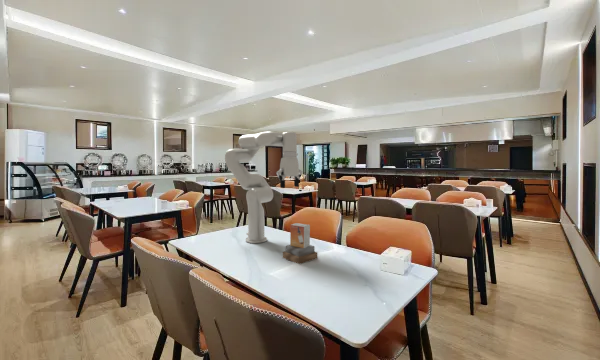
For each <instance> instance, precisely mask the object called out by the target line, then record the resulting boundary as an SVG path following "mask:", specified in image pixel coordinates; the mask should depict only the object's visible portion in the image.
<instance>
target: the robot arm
mask: <svg viewBox="0 0 600 360" xmlns="http://www.w3.org/2000/svg"><path fill="white" fill-rule="evenodd" d="M297 138H298V136H297V133H296V132H294V131H285V132H279V131H263V132H258V133H250V134H243V135H241V136H240V137H239V139H238V141H237V142H238V145H239V146H240V148H238V147H237V148H229V149H227V150H226V152H225V154H224V162H225V165H226V167H227V168H228V170H230V172H231V173H232V175H234V178H235V179H236V180H237V183H238V185H240V187H241V188H242V189H243V190H246V194H245V196H246V197H245V198H246V199H245V200H246V204H247V221H248V222H247V223H248V225H247V226H248V227H247V228H248V229H247V230H248V231H247V232H246V235H247V237H246V238H245V242H246V243H250V244H262V243H265V242H267V241H268V237H266V236H265V208H264V207H263V205H262V204H263V203H268V202H271V201H272V200H273V198H274V191H273V189H272V188H271V186H270V185H269V183H268V182H267V180H266V179H265V177H264V176H262V175H261V174H258V173H251V172H250V171H248V169H247V167H246V166H245V165H244V164H242V163H248V162H250V161H252V160H253V159H254V157H255V156H256V154H257V153H258V152H259V150H260V149H262V148H264V147H282V157H281V158H280V163H279V169H278V170H277V171H276V172H275V173H276V176H277V178H278V179H279V187H280V188H281V189H285V188H286V180H285V179H286V177H289V178H290V177H293V178H294V179H293V184H294V185H293V186H294V187H295V188H299V187H300V179H301V177H302V174H303V171H302V170H301V169H300V167H299V160H298V155H299V153H298V149H297V148H298V147H297V146H298V141H297V140H298V139H297Z"/></svg>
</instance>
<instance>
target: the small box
mask: <svg viewBox="0 0 600 360" xmlns="http://www.w3.org/2000/svg"><path fill="white" fill-rule="evenodd" d="M310 234H311V225H310V224H306V223H298V222H296V223H293V224H290V236H289V237H290V240H289V241H290V242H289V243H290V244H289V245H290V246H295V247H300V248H306V247H308V246H310V245H311V244H310V243H311V241H310V239H311V235H310Z"/></svg>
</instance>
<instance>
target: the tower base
mask: <svg viewBox="0 0 600 360" xmlns="http://www.w3.org/2000/svg"><path fill="white" fill-rule="evenodd" d="M315 249H316V247H315V246H314V245H312V244H310V246H308V247H306V248H300V247H295V246H290V244H287V245H285V251H282V259H284V260H287V261H290V262H293V263H295V264H297V265H301V264H305V263H307V262H312V261H315V260H317V259H318V251H315Z"/></svg>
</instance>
